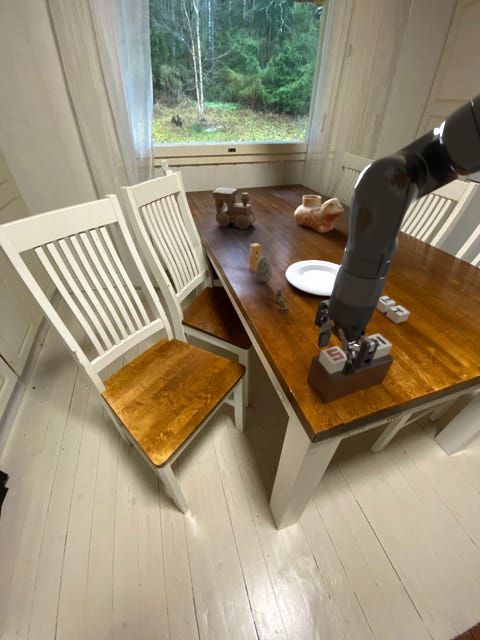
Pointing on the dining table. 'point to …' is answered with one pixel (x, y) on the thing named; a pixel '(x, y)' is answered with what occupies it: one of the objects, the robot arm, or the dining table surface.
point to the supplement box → (254, 255)
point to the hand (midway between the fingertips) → (333, 359)
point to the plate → (313, 276)
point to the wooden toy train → (232, 208)
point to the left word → (382, 347)
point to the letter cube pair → (392, 309)
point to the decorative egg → (263, 270)
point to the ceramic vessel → (318, 213)
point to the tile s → (333, 359)
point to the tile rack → (346, 378)
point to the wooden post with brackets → (281, 300)
